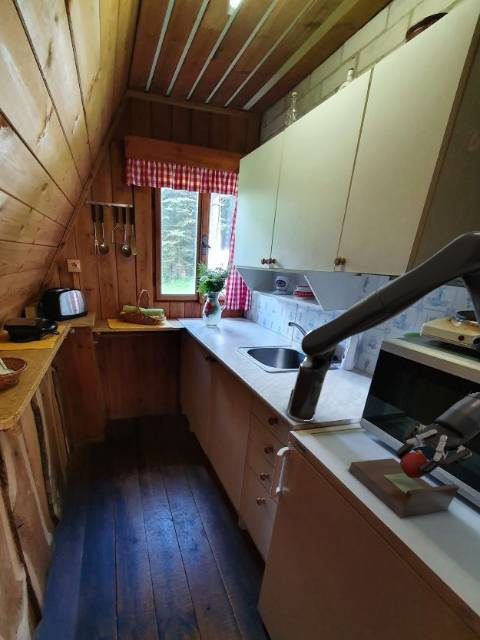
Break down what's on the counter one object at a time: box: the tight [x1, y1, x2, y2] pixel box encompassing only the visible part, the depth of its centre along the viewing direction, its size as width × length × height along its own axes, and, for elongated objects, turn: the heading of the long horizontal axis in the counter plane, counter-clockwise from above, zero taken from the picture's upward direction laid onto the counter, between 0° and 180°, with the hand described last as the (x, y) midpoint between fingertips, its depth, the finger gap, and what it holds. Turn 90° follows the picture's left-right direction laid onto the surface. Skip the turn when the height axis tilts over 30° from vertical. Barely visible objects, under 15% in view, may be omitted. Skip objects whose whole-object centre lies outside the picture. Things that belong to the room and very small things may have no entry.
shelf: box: [348, 457, 460, 518], centre depth 79 cm, size 17×15×7 cm
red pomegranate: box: [399, 449, 429, 478], centre depth 76 cm, size 6×6×8 cm
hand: (409, 463), depth 75 cm, fingers closed on red pomegranate, 5 cm apart
